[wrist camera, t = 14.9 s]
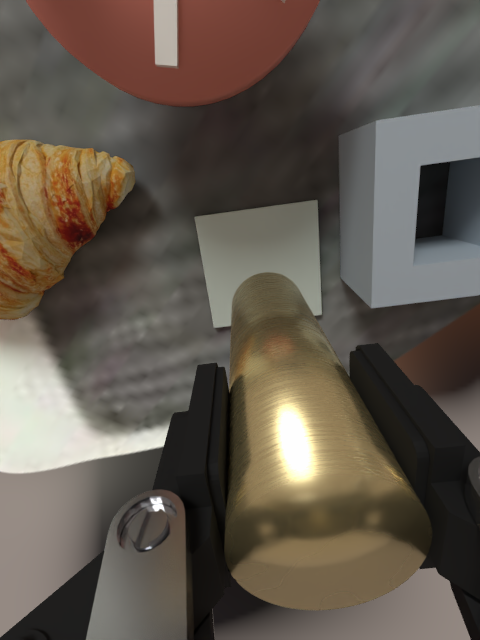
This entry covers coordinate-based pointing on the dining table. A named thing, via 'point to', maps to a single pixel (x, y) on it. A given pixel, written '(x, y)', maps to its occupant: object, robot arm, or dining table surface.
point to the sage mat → (260, 252)
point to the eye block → (409, 208)
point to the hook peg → (309, 466)
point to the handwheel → (177, 43)
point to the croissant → (50, 213)
